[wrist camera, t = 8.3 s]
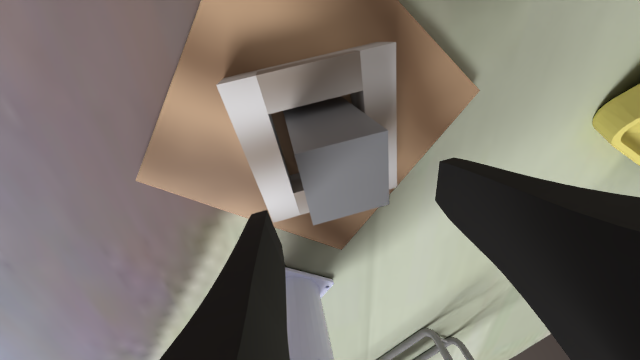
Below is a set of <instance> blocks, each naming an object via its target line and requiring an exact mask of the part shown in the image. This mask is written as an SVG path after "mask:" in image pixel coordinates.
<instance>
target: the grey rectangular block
mask: <svg viewBox="0 0 640 360" xmlns="http://www.w3.org/2000/svg"><path fill="white" fill-rule="evenodd" d="M283 113H284V117H285V121H286V124H287V128H288V132H289V136H290V140H291V143H292V147H293V151H294V155H295V159H296V162H297V166H298V170H299V174H300V177H301V181H302V185H303V189H304V193H305V196H306V200H307V204H308V208H309V211H310V215H311V219H312V223H313V225H317V224H320V223H324V222H328V221H331V220H335V219H338V218H342V217H345V216H349V215H353V214H356V213H360V212H363V211H367V210H370V209H374V208H378V207H381V206H385V205H388V204H389V157H388V130H387V129H386V128H384V127H383V126H381V125H380V124H379V123H377V122H376V121H374V120H373V119H372V118H370V117H369V116H368V115H366V114H365V113H363V112H362V111H361V110H359V109H358V108H356V107H355V106H354V105H352V104H351V103H350V102H348V101H347V100H345V99H344V98H343V97H341V96H340V97H336V98H332V99H328V100H323V101H320V102H316V103H312V104H308V105H304V106H300V107H296V108H292V109H288V110H284V111H283Z"/></svg>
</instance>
